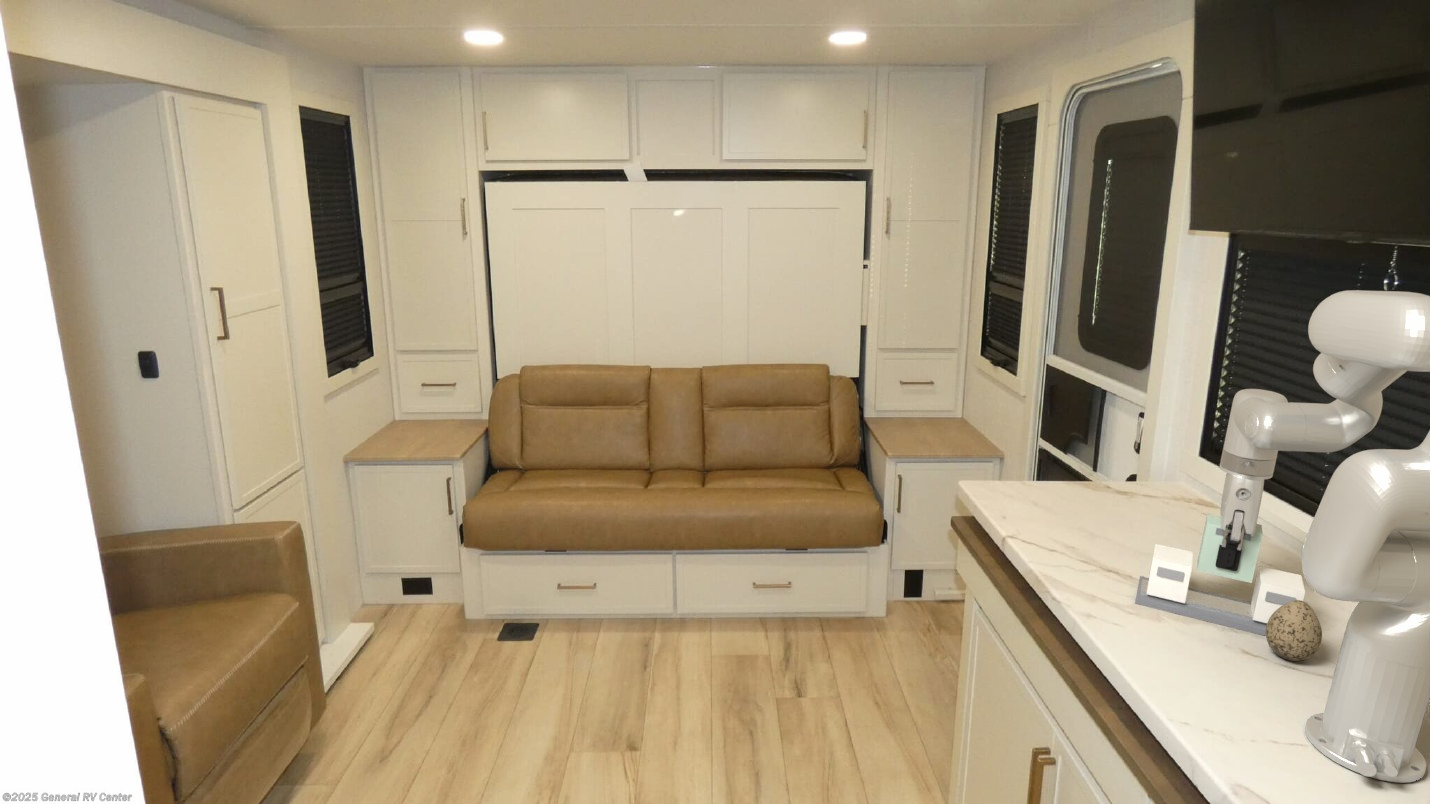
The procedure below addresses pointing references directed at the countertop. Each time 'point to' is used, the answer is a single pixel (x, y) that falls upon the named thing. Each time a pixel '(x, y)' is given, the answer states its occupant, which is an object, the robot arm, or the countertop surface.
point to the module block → (1214, 539)
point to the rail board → (1175, 596)
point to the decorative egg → (1294, 631)
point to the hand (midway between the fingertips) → (1226, 561)
